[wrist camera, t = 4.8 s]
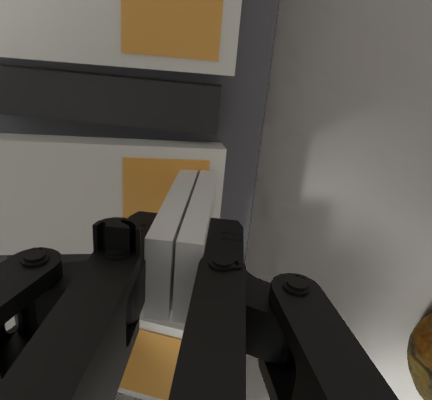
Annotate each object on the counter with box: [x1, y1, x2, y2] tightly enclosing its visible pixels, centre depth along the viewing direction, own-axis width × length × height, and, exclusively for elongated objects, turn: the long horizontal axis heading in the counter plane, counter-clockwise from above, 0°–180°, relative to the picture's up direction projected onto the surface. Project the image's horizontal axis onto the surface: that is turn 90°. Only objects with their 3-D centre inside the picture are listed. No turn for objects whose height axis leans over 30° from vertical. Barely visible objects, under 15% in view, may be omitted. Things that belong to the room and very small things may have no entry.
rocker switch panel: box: [0, 0, 280, 264], centre depth 19 cm, size 26×14×4 cm, turn 175°
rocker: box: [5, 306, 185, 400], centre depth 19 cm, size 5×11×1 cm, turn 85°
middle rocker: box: [0, 133, 227, 255], centre depth 16 cm, size 5×11×1 cm, turn 85°
